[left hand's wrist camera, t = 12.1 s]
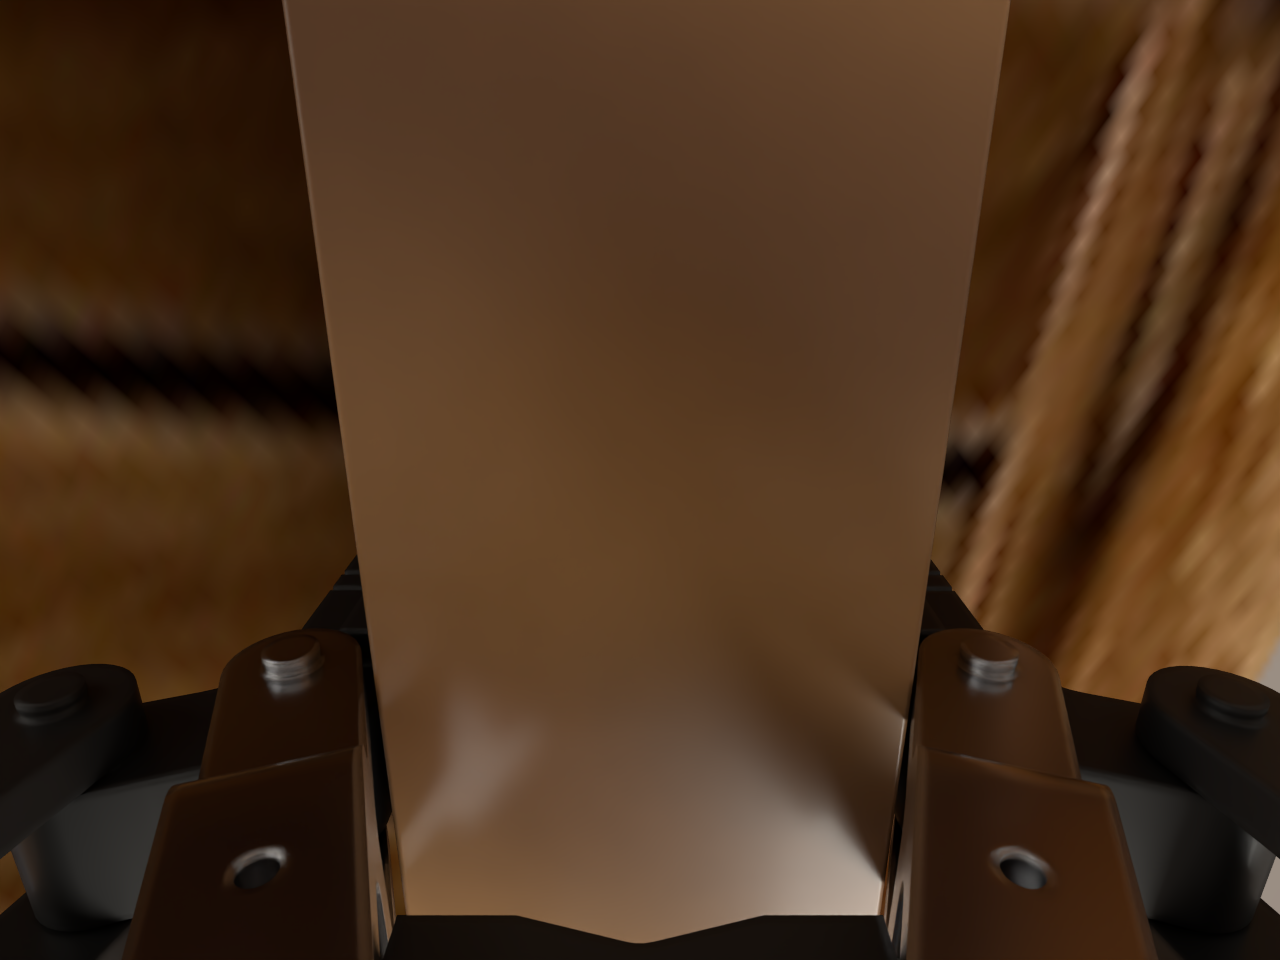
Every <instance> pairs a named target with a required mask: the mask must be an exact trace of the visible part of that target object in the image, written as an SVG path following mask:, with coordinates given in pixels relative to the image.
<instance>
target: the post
mask: <svg viewBox="0 0 1280 960" xmlns="http://www.w3.org/2000/svg"><path fill="white" fill-rule="evenodd" d="M1010 1H1011V0H282V4H283V12H284V19H285V26H286V34H287V41H288V48H289V56H290V63H291V70H292V78H293V85H294V92H295V100H296V107H297V115H298V122H299V129H300V137H301V144H302V151H303V159H304V166H305V173H306V181H307V188H308V195H309V203H310V210H311V217H312V225H313V232H314V239H315V247H316V254H317V262H318V269H319V276H320V284H321V291H322V298H323V306H324V313H325V320H326V328H327V335H328V342H329V350H330V357H331V364H332V372H333V379H334V387H335V394H336V401H337V409H338V416H339V423H340V431H341V438H342V445H343V453H344V460H345V467H346V475H347V482H348V489H349V497H350V504H351V511H352V519H353V526H354V534H355V541H356V548H357V556H358V563H359V570H360V578H361V585H362V592H363V600H364V607H365V614H366V622H367V629H368V636H369V644H370V651H371V658H372V666H373V673H374V681H375V688H376V695H377V703H378V710H379V717H380V725H381V732H382V739H383V747H384V754H385V761H386V769H387V776H388V783H389V791H390V798H391V805H392V813H393V820H394V828H395V835H396V842H397V850H398V857H399V864H400V872H401V879H402V886H403V894H404V901H405V908H406V915H518V916H522V917H526V918H530V919H534V920H539V921H543V922H547V923H551V924H555V925H559V926H563V927H568V928H572V929H576V930H580V931H584V932H588V933H592V934H597V935H601V936H605V937H609V938H613V939H617V940H621V941H626V942H631V943H649V942H654V941H659V940H663V939H667V938H671V937H675V936H679V935H683V934H688V933H692V932H696V931H700V930H704V929H708V928H712V927H717V926H721V925H725V924H729V923H733V922H737V921H741V920H746V919H750V918H754V917H758V916H762V915H880V910H881V903H882V896H883V889H884V882H885V875H886V868H887V861H888V854H889V847H890V840H891V833H892V826H893V819H894V812H895V805H896V798H897V791H898V784H899V777H900V770H901V763H902V756H903V749H904V742H905V735H906V728H907V721H908V714H909V707H910V700H911V693H912V686H913V679H914V672H915V665H916V658H917V651H918V644H919V637H920V630H921V623H922V616H923V609H924V602H925V595H926V588H927V581H928V574H929V567H930V560H931V553H932V546H933V539H934V533H935V526H936V519H937V512H938V505H939V498H940V491H941V484H942V477H943V470H944V463H945V456H946V449H947V442H948V435H949V428H950V421H951V414H952V407H953V400H954V393H955V386H956V379H957V372H958V365H959V358H960V351H961V344H962V337H963V330H964V323H965V316H966V309H967V302H968V295H969V288H970V281H971V274H972V267H973V260H974V253H975V246H976V239H977V232H978V225H979V218H980V211H981V204H982V197H983V190H984V183H985V176H986V169H987V162H988V155H989V148H990V141H991V134H992V127H993V120H994V113H995V106H996V99H997V92H998V85H999V78H1000V71H1001V64H1002V57H1003V50H1004V43H1005V36H1006V29H1007V22H1008V15H1009V8H1010Z"/></svg>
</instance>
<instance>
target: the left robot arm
mask: <svg viewBox="0 0 1280 960" xmlns="http://www.w3.org/2000/svg"><path fill="white" fill-rule="evenodd" d="M391 812H392V805H391V798H390V791H389V783H388V776H387V769H386V761H385V754H384V747H383V739H382V732H381V725H380V717H379V710H378V703H377V695H376V688H375V681H374V673H373V666H372V658H371V651H370V644H369V636H368V629H367V622H366V614H365V607H364V600H363V592H362V585H361V578H360V570H359V563H358V556H357V555H356V557H355V558H354V559H353V561H352V562H351V563H350V565H349V566H348V567H347V569H346V570H345V575H341V577H340V578H339V579H338V581H337V582H336V584H335V585H334V586H333V590H330V592H329V593H328V594H327V596H326V597H325V598H324V600H323V601H322V602H321V604H320V605H319V607H318V608H317V609H316V611H315V612H314V613H313V615H312V616H311V617H310V619H309V620H308V621H307V623H306V624H305V625H304V627H303V628H302V629H301V630H294V631H289V632H284V633H281V634H277V635H274V636H271V637H268V638H266V639H263V640H261V641H258V642H256V643H254V644H252V645H250V646H249V647H247V648H245V649H244V650H242V651H241V652H239V653H238V654H237V655H235V656H234V657H233V658H232V659H231V660H230V661H229V662H228V663H227V665H226V666H225V668H224V669H223V672H222V674H221V678H220V682H219V687H218V688H217V689H213V690H208V691H204V692H199V693H193V694H188V695H183V696H177V697H172V698H167V699H161V700H156V701H150V702H145V703H142V700H141V696H140V692H139V689H138V685H137V681H136V678H135V676H134V674H132V673H131V672H130V671H129V670H127V669H125V668H123V667H120V666H116V665H109V664H88V665H79V666H73V667H67V668H63V669H59V670H55V671H51V672H48V673H45V674H42V675H39V676H36V677H33V678H31V679H28V680H26V681H23V682H21V683H19V684H17V685H15V686H13V687H11V688H9V689H7V690H5V691H3V692H2V693H0V859H1V858H2V857H3V856H5V855H6V854H7V853H8V852H10V851H11V852H12V855H13V857H14V860H15V863H16V866H17V868H18V871H19V874H20V877H21V879H22V882H23V885H24V887H25V890H26V893H25V894H24V895H22V896H21V897H20V898H19V899H18V900H17V901H16V902H14V903H13V904H12V905H11V906H10V907H9V908H7V909H6V910H5V911H4V912H3V913H2V914H1V915H0V960H1280V915H1279V914H1278V913H1277V912H1276V911H1275V910H1274V909H1273V908H1271V907H1270V906H1269V905H1268V904H1267V903H1266V902H1264V901H1263V900H1262V899H1261V895H1262V892H1263V889H1264V887H1265V884H1266V881H1267V879H1268V876H1269V873H1270V871H1271V868H1272V865H1273V863H1274V860H1275V857H1276V856H1277V857H1278V858H1279V859H1280V693H1278V692H1276V691H1274V690H1273V689H1271V688H1268V687H1266V686H1264V685H1262V684H1260V683H1257V682H1255V681H1252V680H1250V679H1247V678H1245V677H1241V676H1238V675H1235V674H1232V673H1228V672H1224V671H1220V670H1216V669H1210V668H1204V667H1195V666H1174V667H1167V668H1163V669H1160V670H1158V671H1156V672H1154V673H1153V674H1152V675H1151V676H1150V677H1149V679H1148V681H1147V684H1146V687H1145V691H1144V695H1143V698H1142V702H1141V703H1135V702H1130V701H1125V700H1119V699H1114V698H1108V697H1103V696H1098V695H1092V694H1087V693H1082V692H1078V691H1073V690H1069V689H1066V688H1063V687H1061V683H1060V678H1059V674H1058V672H1057V669H1056V668H1055V666H1054V665H1053V663H1052V662H1051V661H1050V660H1049V659H1048V658H1047V657H1046V656H1045V655H1043V654H1042V653H1041V652H1039V651H1038V650H1036V649H1035V648H1033V647H1031V646H1030V645H1028V644H1026V643H1024V642H1021V641H1019V640H1017V639H1014V638H1012V637H1009V636H1006V635H1003V634H999V633H996V632H991V631H986V630H983V628H982V627H981V626H980V624H979V623H978V622H977V620H976V619H975V618H974V616H973V615H972V614H971V612H970V611H969V610H968V608H967V607H966V606H965V604H964V603H963V602H962V600H961V599H960V598H959V596H958V595H957V594H956V592H955V591H952V587H951V586H950V584H949V583H948V582H947V580H946V579H945V578H944V576H943V575H940V571H939V570H938V568H937V567H936V566H935V564H934V563H933V562H932V560H930V567H929V574H928V581H927V588H926V595H925V602H924V609H923V616H922V623H921V630H920V637H919V644H918V651H917V658H916V665H915V672H914V679H913V686H912V693H911V700H910V707H909V714H908V721H907V728H906V735H905V742H904V749H903V756H902V763H901V770H900V777H899V784H898V791H897V798H896V805H895V812H894V814H895V817H894V824H893V831H892V838H891V845H890V856H889V867H888V879H887V891H886V902H885V914H884V917H883V915H762V916H758V917H754V918H750V919H746V920H741V921H737V922H733V923H729V924H725V925H721V926H717V927H712V928H708V929H704V930H700V931H696V932H692V933H688V934H683V935H679V936H675V937H671V938H667V939H663V940H659V941H654V942H649V943H631V942H626V941H621V940H617V939H613V938H609V937H605V936H601V935H597V934H592V933H588V932H584V931H580V930H576V929H572V928H568V927H563V926H559V925H555V924H551V923H547V922H543V921H539V920H534V919H530V918H526V917H522V916H518V915H397V917H396V915H395V903H394V891H393V880H392V868H391V856H390V845H389V838H388V831H387V825H386V824H387V822H388V820H389V817H390V815H391Z"/></svg>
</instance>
